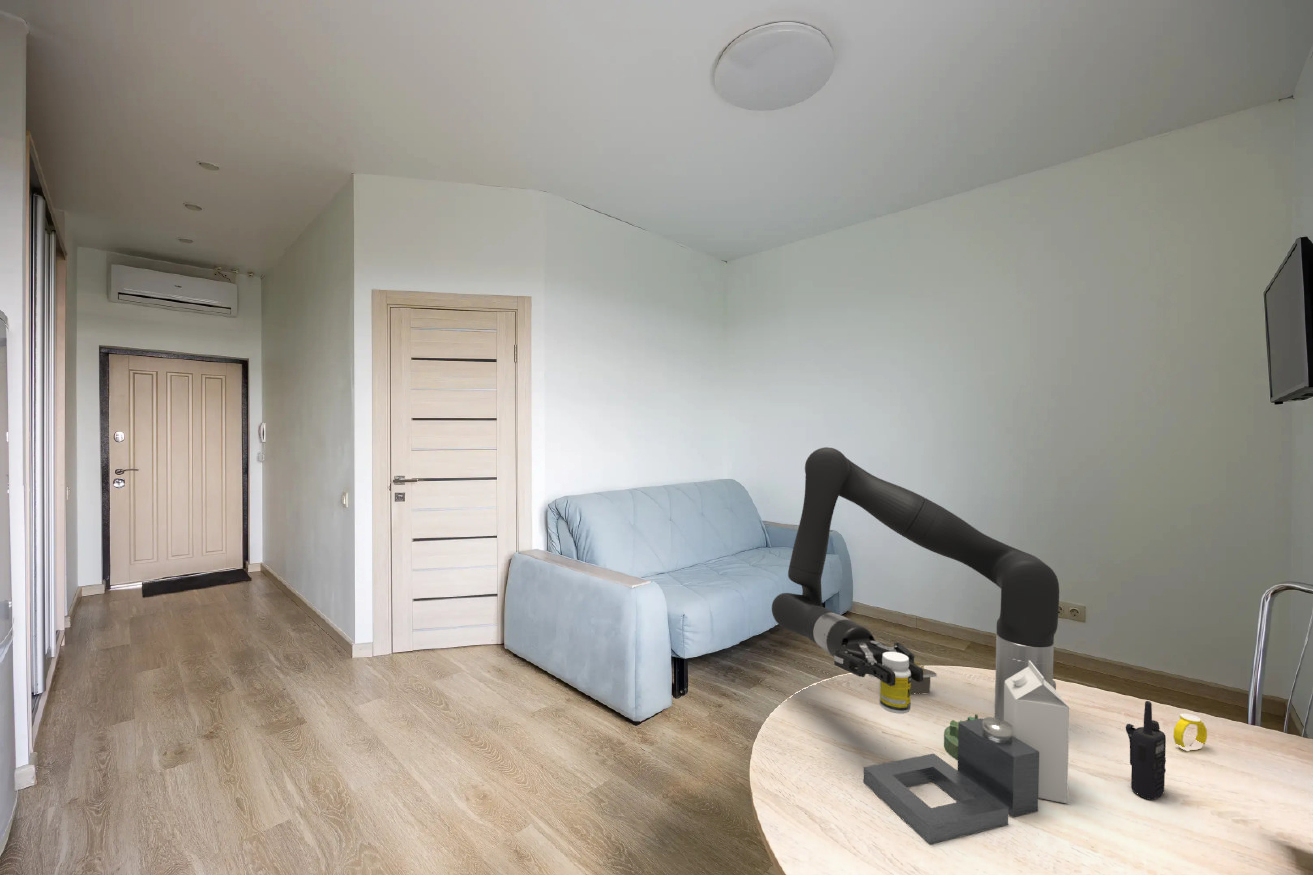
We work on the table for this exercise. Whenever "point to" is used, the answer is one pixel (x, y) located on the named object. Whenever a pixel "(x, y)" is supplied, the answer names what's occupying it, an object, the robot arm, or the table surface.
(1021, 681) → the milk carton
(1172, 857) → the table surface
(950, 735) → the decorative artifact
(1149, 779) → the two-way radio
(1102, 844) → the table surface
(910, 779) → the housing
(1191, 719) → the watch
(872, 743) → the table surface
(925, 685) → the platform
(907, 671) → the supplement bottle
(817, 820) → the table surface
